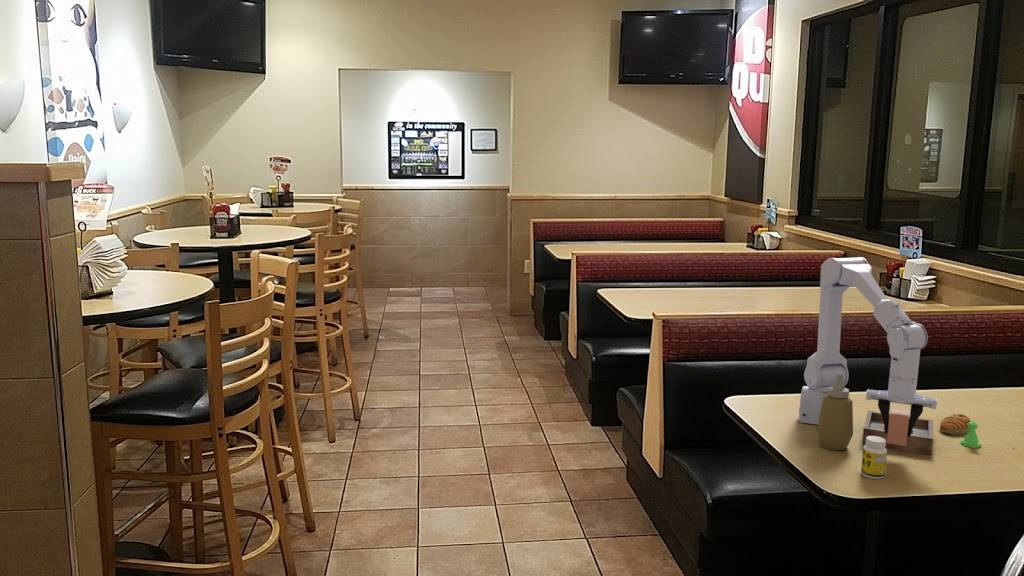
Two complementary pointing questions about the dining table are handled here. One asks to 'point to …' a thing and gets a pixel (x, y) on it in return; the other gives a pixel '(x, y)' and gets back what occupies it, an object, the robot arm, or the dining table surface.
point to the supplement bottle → (874, 457)
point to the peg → (898, 427)
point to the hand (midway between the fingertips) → (897, 433)
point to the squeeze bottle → (836, 417)
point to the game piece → (971, 436)
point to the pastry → (955, 424)
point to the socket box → (915, 443)
